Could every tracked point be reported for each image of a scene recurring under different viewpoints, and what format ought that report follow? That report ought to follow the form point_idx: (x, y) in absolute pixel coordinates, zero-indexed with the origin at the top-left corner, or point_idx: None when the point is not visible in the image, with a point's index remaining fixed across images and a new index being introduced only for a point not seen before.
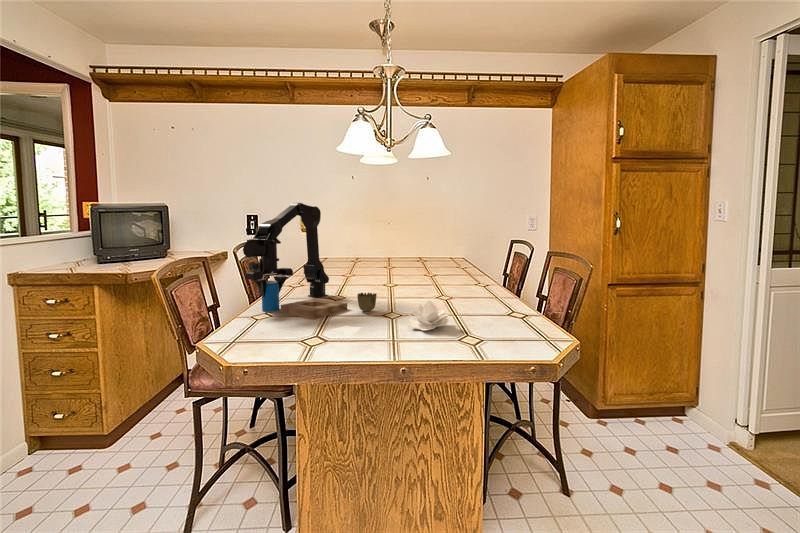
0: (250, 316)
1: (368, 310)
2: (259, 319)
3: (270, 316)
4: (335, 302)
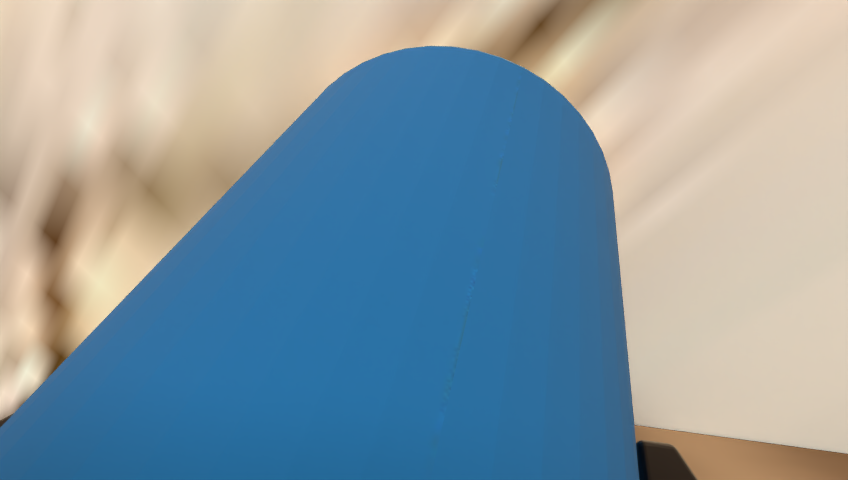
0: (48, 172)
1: None
2: None
3: None
4: None
